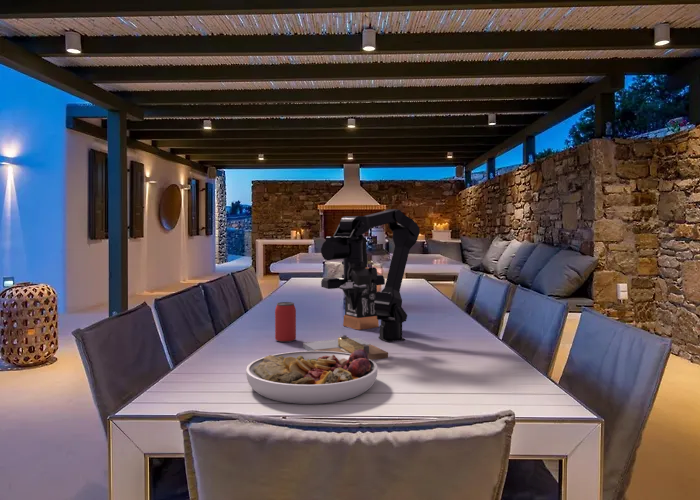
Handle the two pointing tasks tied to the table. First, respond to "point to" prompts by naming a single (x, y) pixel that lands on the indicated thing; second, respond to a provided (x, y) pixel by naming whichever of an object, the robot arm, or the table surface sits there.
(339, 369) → the bowl
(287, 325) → the beer can
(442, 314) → the table surface
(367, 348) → the door board
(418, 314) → the table surface
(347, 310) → the whiskey bottle
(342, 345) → the swing bar
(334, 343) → the board
